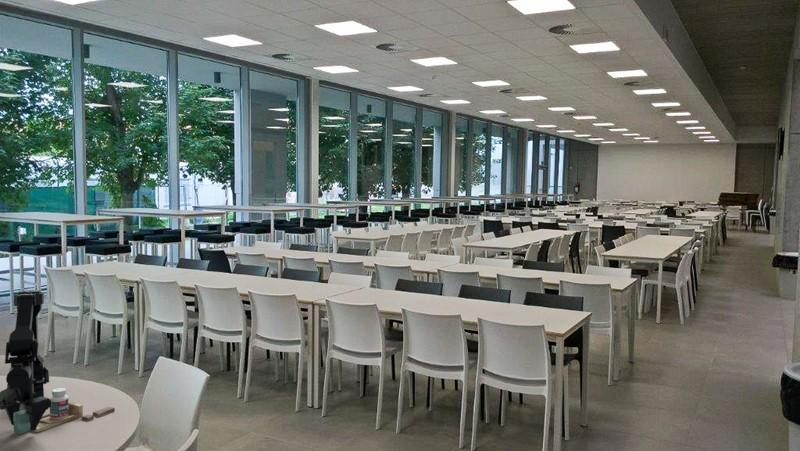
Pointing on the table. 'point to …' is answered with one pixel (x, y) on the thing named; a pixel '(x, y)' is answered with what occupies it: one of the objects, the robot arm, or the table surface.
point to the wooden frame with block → (44, 419)
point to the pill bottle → (59, 404)
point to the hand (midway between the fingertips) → (23, 427)
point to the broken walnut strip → (98, 413)
